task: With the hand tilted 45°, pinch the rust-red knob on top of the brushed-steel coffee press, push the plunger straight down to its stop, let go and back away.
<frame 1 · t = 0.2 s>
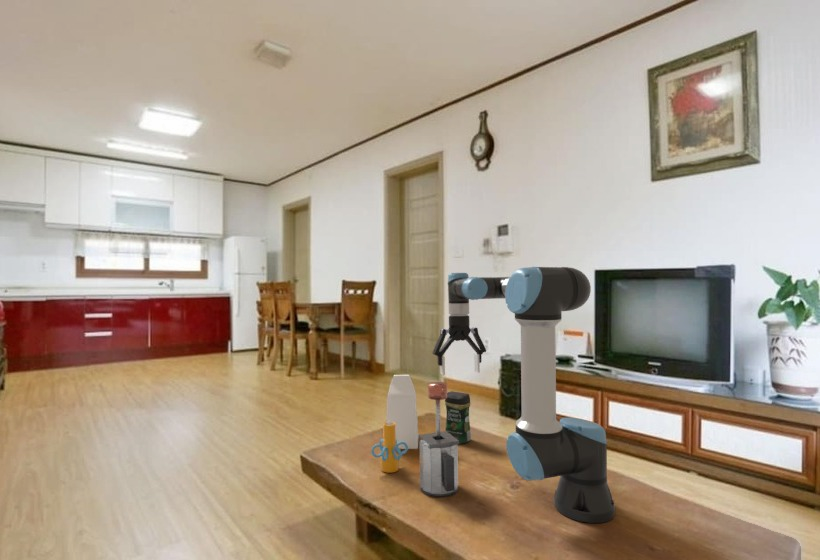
hand: (460, 373, 158), 28 cm above the table, tool pointing down, fingers open, 13 cm apart
plunger: (438, 420, 129), point 20 cm above the table, slide at 0.0 cm
press carafe: (439, 488, 129), on the table
coffee jar: (458, 440, 168), on the table
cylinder: (390, 469, 143), on the table
milk: (402, 443, 166), on the table
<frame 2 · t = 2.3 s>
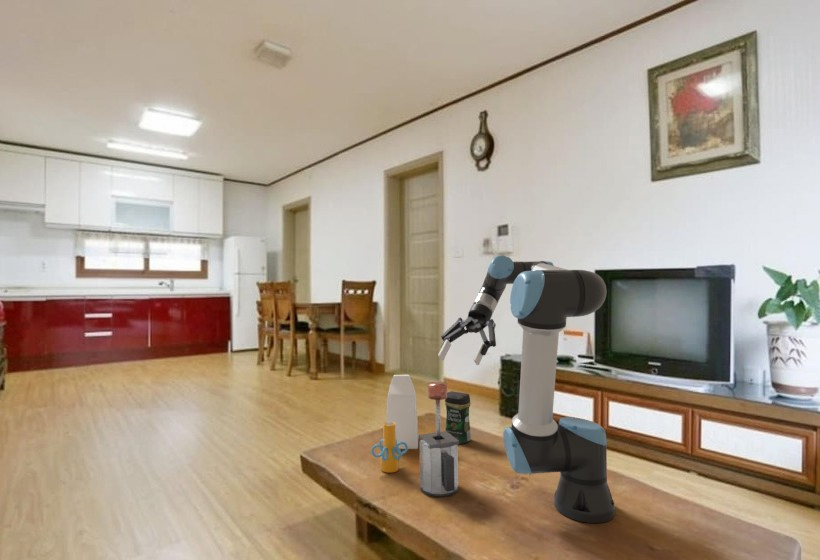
hand: (457, 360, 137), 37 cm above the table, tool tilted 45°, fingers open, 13 cm apart
nothing on the table moved.
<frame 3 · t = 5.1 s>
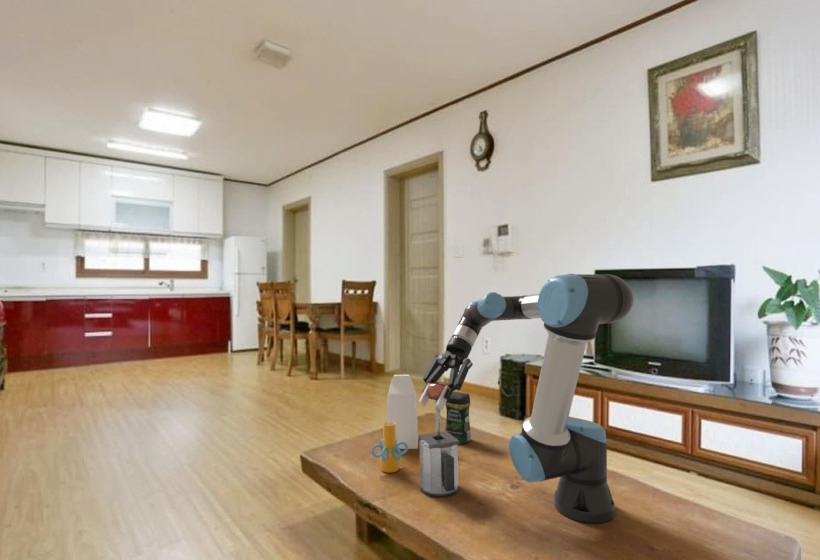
hand: (430, 405, 126), 25 cm above the table, tool tilted 45°, fingers closed on plunger, 6 cm apart
plunger: (438, 421, 129), point 20 cm above the table, slide at 0.0 cm, touching gripper
everything else where it was.
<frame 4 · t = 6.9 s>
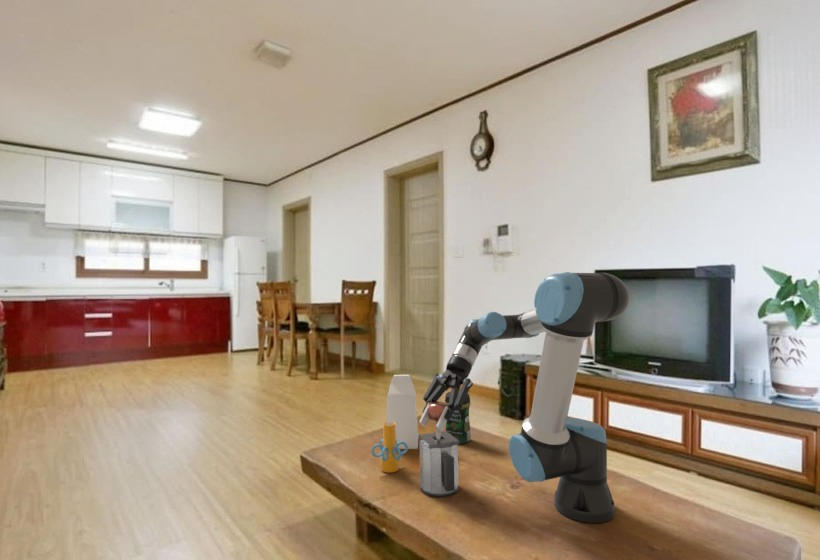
hand: (430, 426, 126), 19 cm above the table, tool tilted 45°, fingers closed on plunger, 6 cm apart
plunger: (438, 441, 129), point 14 cm above the table, slide at 6.0 cm, touching gripper
everything else where it was.
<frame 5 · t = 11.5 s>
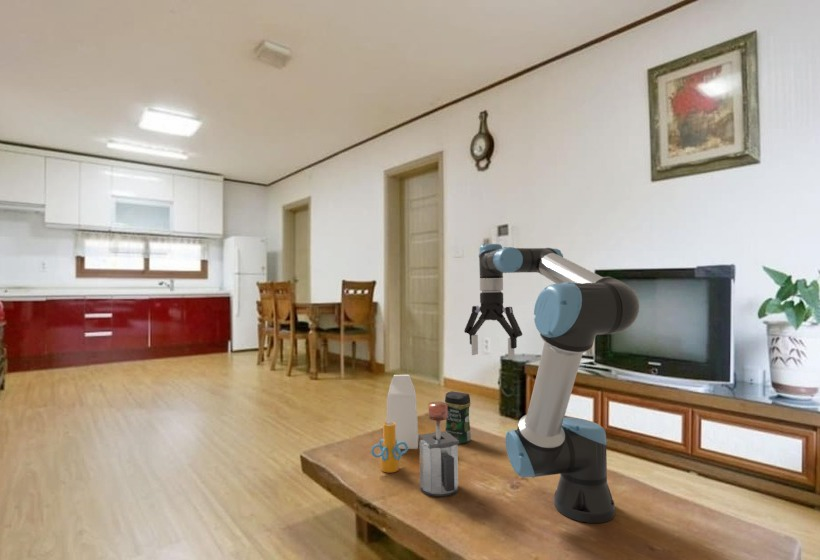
hand: (492, 356, 142), 37 cm above the table, tool pointing down, fingers open, 13 cm apart
plunger: (438, 441, 129), point 14 cm above the table, slide at 6.0 cm
everything else where it was.
at the end: plunger slide at 6.0 cm; the gripper is holding nothing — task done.
